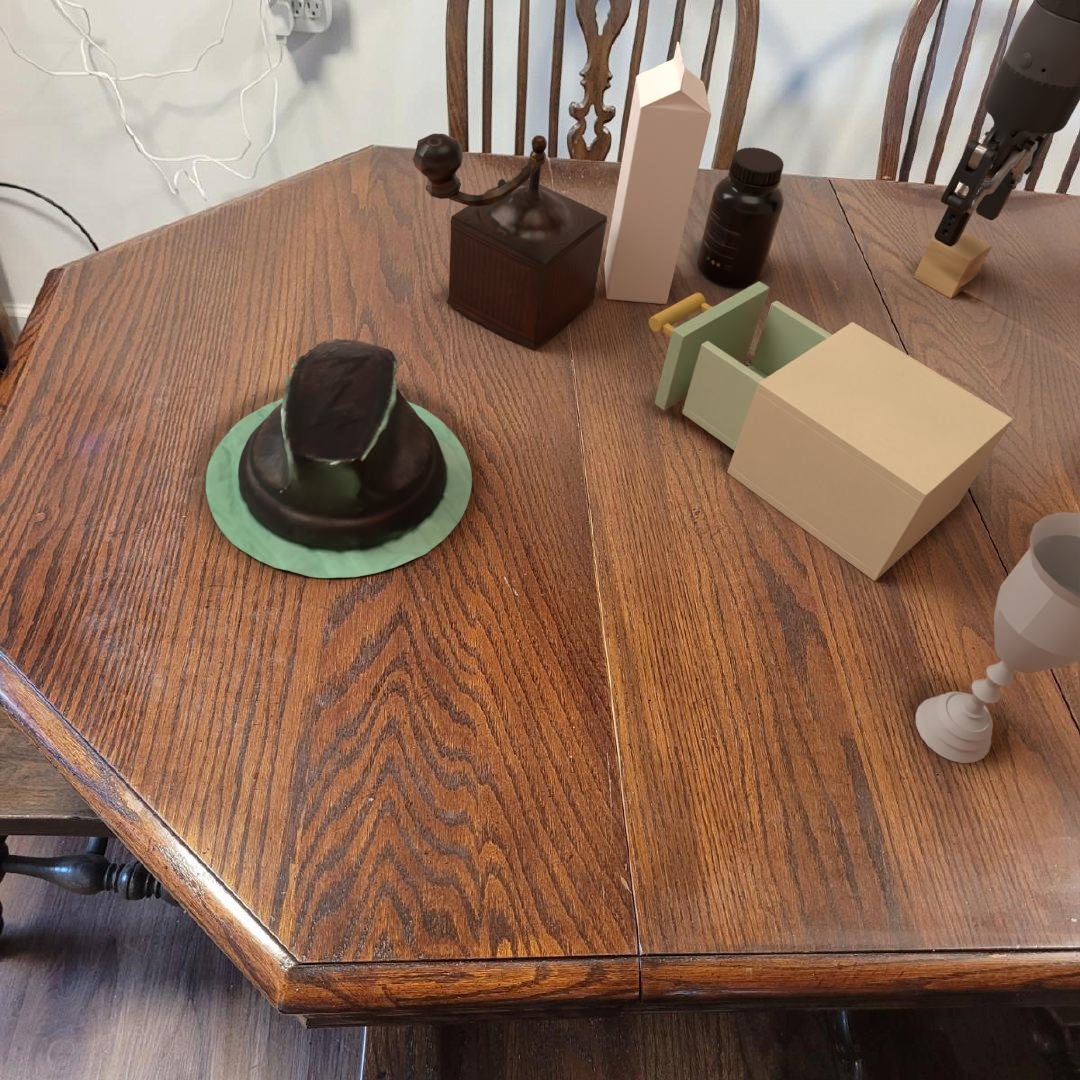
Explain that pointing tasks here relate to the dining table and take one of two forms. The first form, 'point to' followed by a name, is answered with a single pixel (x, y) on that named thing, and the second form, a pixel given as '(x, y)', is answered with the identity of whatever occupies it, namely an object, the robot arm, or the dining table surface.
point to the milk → (656, 181)
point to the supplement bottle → (742, 219)
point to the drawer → (727, 356)
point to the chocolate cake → (339, 470)
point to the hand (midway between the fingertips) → (965, 228)
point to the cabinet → (864, 446)
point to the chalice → (1016, 638)
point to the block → (952, 264)
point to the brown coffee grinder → (515, 247)
